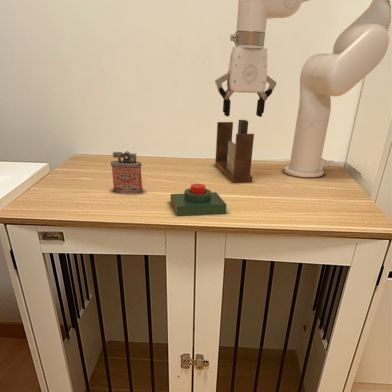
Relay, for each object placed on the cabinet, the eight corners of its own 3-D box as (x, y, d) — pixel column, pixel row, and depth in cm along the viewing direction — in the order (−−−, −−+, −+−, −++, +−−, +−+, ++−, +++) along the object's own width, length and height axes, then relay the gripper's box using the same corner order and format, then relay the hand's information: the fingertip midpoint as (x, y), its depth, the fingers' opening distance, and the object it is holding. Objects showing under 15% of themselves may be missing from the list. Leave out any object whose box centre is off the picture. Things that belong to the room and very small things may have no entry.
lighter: (143, 190, 113) (141, 151, 107) (141, 193, 110) (139, 153, 104) (114, 189, 113) (111, 149, 107) (112, 192, 111) (108, 152, 104)
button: (203, 190, 102) (203, 183, 101) (206, 195, 99) (207, 187, 98) (189, 191, 101) (189, 183, 100) (192, 195, 98) (192, 188, 97)
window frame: (232, 164, 140) (235, 121, 132) (252, 182, 123) (257, 134, 115) (215, 165, 139) (217, 121, 131) (233, 183, 122) (237, 134, 114)
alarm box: (215, 200, 107) (216, 185, 105) (225, 213, 100) (227, 196, 97) (170, 202, 105) (170, 186, 103) (177, 215, 97) (177, 198, 95)
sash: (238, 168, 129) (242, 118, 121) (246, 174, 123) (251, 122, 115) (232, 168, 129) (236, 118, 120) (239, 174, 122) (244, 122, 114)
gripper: (221, 39, 102) (217, 117, 112) (286, 42, 105) (276, 118, 115) (214, 39, 108) (210, 113, 118) (275, 42, 111) (266, 114, 121)
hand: (242, 115), depth 117 cm, fingers open, 9 cm apart
